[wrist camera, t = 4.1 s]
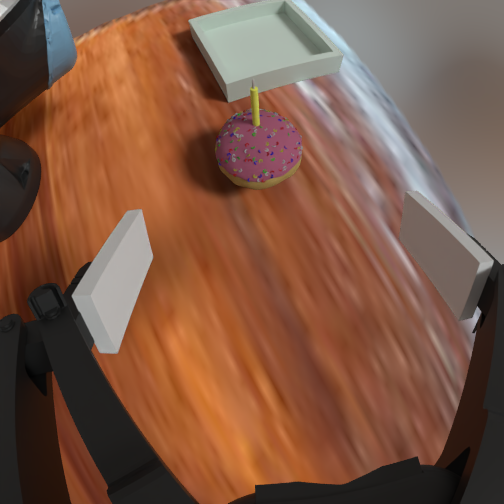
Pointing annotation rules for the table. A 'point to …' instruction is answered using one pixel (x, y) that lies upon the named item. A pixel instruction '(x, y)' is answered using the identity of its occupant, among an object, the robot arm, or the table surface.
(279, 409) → the table surface
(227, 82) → the tray
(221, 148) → the cupcake
